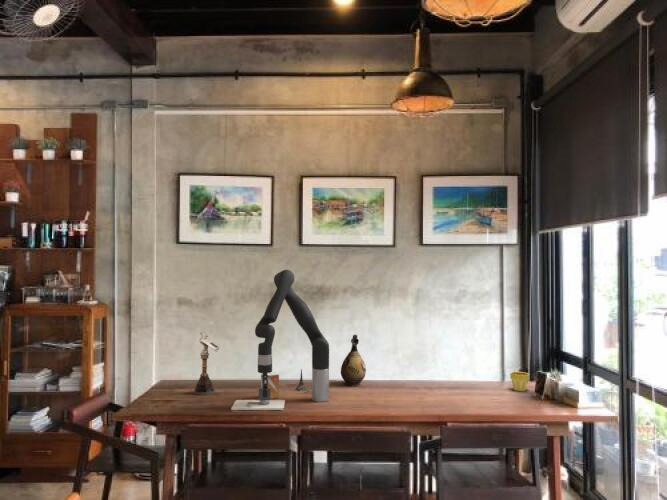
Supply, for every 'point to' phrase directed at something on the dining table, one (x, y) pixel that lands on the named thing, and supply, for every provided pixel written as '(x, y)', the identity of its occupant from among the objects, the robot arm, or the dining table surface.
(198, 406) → the dining table surface
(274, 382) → the small box
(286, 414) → the dining table surface
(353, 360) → the ceramic jug
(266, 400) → the tuning knob
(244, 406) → the gauge board
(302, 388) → the eiffel tower figurine
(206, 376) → the pedestal telescope
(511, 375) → the plant pot
